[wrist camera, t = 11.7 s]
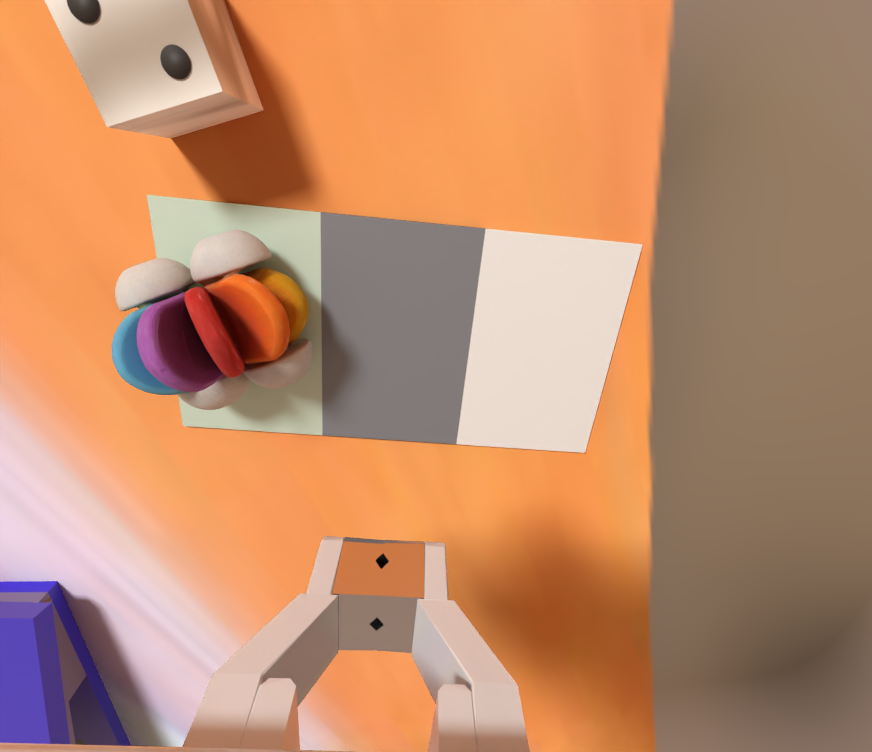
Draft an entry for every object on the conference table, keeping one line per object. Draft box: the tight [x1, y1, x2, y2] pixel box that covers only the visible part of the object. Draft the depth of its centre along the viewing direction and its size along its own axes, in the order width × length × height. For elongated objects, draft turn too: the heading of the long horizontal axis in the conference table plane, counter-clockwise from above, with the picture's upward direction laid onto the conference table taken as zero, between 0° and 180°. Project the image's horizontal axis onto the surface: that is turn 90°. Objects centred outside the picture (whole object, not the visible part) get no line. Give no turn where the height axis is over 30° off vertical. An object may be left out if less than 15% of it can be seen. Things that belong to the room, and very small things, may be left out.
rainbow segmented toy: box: [112, 230, 313, 410], centre depth 22 cm, size 8×10×7 cm
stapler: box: [0, 581, 131, 746], centre depth 35 cm, size 12×28×10 cm, turn 178°
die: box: [45, 0, 264, 138], centre depth 19 cm, size 5×5×5 cm
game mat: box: [147, 195, 642, 453], centre depth 27 cm, size 14×27×1 cm, turn 84°
